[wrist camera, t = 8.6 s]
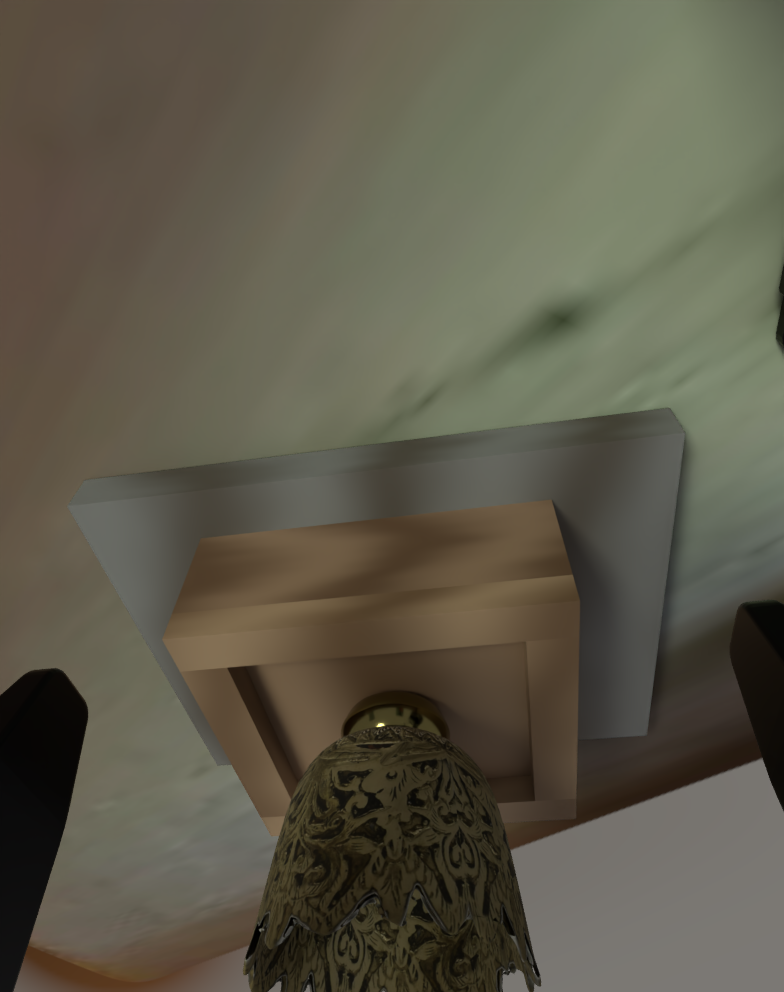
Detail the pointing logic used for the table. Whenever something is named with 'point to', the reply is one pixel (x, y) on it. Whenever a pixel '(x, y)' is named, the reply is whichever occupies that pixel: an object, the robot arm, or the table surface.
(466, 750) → the wooden square tray
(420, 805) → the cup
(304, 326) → the table surface
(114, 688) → the table surface
